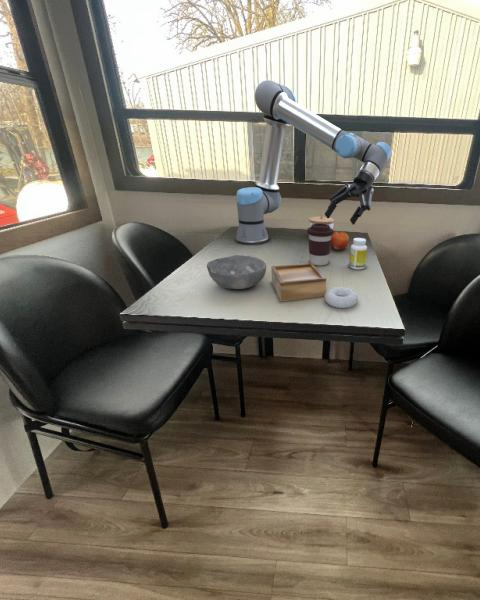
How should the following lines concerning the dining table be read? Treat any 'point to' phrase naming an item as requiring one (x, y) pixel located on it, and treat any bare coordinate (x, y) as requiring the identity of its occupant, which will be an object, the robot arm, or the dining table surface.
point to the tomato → (339, 240)
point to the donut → (341, 297)
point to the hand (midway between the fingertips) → (338, 219)
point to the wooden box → (298, 281)
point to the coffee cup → (319, 243)
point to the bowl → (237, 271)
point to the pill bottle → (358, 253)
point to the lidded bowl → (322, 221)
